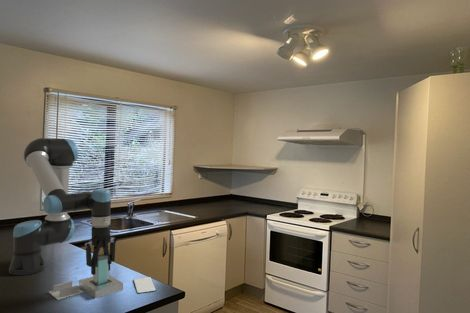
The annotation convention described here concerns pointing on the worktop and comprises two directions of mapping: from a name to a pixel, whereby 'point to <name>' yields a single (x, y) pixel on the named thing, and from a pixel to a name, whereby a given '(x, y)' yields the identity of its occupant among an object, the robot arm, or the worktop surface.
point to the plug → (102, 268)
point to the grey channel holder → (65, 290)
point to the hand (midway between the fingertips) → (100, 279)
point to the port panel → (100, 286)
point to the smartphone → (144, 285)
